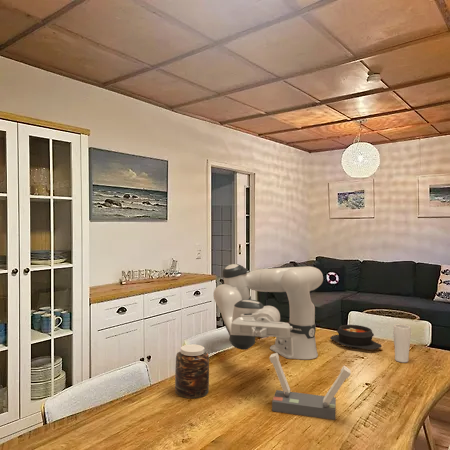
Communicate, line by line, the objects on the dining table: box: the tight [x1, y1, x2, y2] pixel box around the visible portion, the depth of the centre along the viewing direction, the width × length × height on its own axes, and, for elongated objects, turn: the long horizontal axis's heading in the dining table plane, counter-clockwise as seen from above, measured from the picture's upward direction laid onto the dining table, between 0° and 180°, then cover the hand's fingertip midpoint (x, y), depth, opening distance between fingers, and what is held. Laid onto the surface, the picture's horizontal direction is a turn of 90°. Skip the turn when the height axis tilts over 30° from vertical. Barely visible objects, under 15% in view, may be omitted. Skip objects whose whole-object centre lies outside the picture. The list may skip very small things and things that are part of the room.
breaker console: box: [271, 389, 337, 421], centre depth 127 cm, size 9×19×3 cm, turn 74°
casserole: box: [330, 324, 382, 351], centre depth 195 cm, size 25×19×8 cm
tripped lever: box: [269, 352, 291, 397], centre depth 130 cm, size 4×2×13 cm, turn 164°
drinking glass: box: [393, 323, 412, 364], centre depth 173 cm, size 7×7×15 cm
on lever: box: [323, 365, 352, 407], centre depth 122 cm, size 4×2×13 cm
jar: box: [174, 343, 210, 399], centre depth 139 cm, size 12×12×15 cm
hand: (256, 334), depth 131 cm, fingers closed
